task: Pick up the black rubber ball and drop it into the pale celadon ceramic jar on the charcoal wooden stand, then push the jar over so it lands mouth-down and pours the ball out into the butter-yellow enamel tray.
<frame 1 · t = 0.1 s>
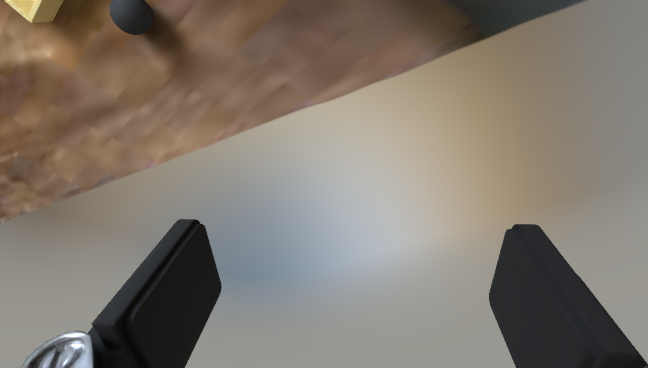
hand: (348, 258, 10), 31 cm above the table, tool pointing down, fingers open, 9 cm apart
ball: (132, 14, 35), point 2 cm above the table
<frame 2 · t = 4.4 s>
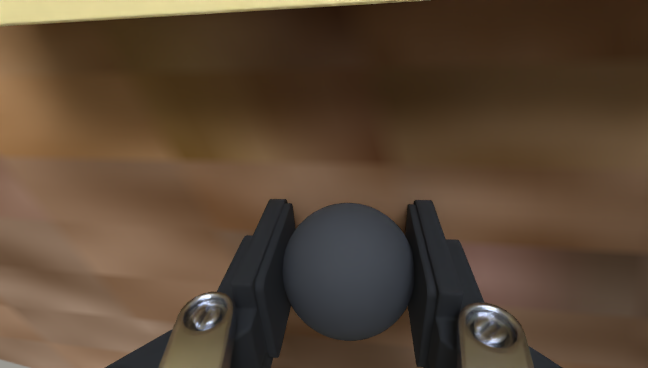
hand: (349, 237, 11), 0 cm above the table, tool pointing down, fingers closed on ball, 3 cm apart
ball: (347, 268, 10), point 2 cm above the table, touching gripper
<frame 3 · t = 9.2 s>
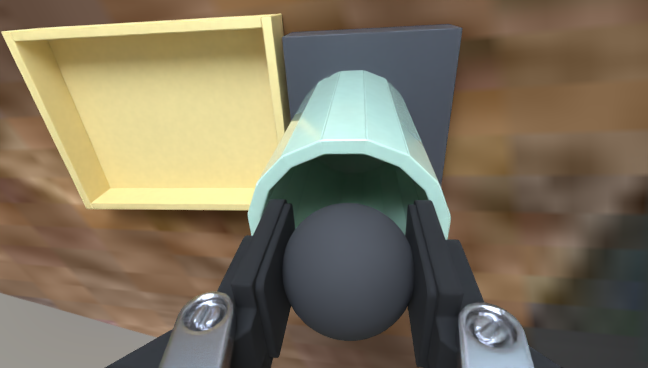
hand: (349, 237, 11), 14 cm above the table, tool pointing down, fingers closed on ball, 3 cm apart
ball: (347, 268, 10), point 16 cm above the table, touching gripper
tray: (181, 117, 25), on the table
jar: (352, 127, 21), point 3 cm above the table, touching stand
stand: (367, 112, 24), on the table
when the fingers open (17 cm above the table, at t = 19.1 s): ball drops 13 cm, resting on jar.
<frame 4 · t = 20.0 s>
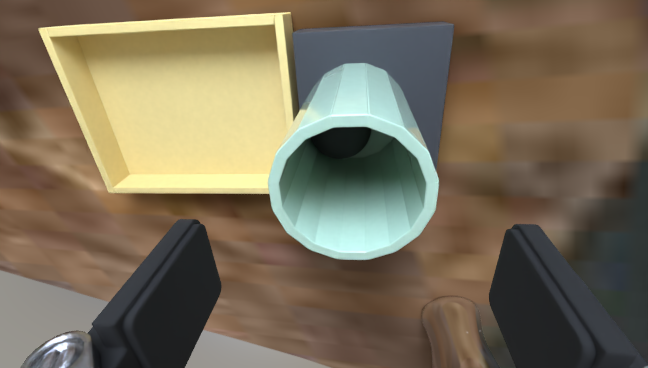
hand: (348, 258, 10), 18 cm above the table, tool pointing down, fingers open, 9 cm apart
ball: (340, 127, 21), point 6 cm above the table, tilted 26°, touching jar
tray: (197, 107, 27), on the table
jar: (355, 115, 23), point 3 cm above the table, touching ball, stand
stand: (369, 103, 26), on the table
beer glass: (449, 313, 36), on the table
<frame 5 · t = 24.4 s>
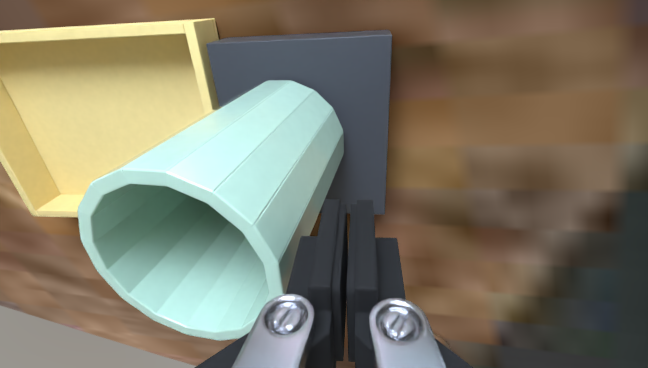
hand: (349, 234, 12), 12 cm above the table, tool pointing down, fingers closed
tray: (124, 123, 24), on the table
jar: (286, 139, 20), point 3 cm above the table, tilted 6°, touching ball, gripper, stand
stand: (311, 121, 23), on the table
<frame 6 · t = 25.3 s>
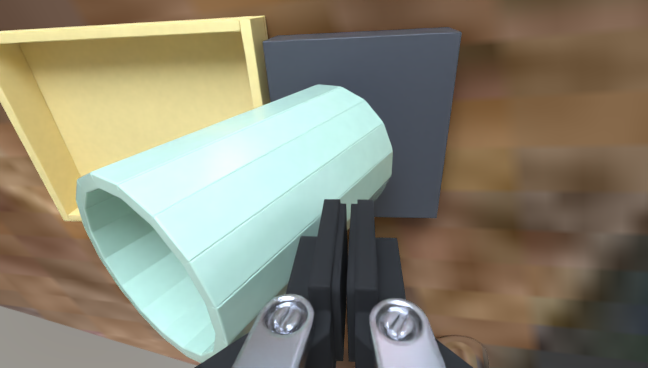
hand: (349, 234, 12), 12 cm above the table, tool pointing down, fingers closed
tray: (162, 125, 24), on the table
jar: (332, 149, 18), point 5 cm above the table, tilted 26°, touching ball, gripper, stand
stand: (359, 122, 22), on the table
beer glass: (453, 353, 32), on the table
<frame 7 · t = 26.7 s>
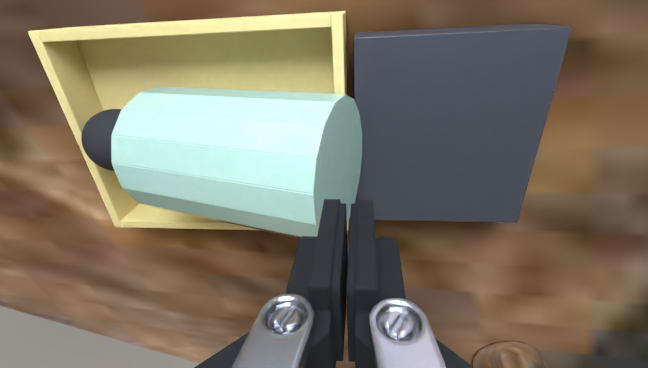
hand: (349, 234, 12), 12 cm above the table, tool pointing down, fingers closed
ball: (119, 140, 21), point 2 cm above the table, tilted 160°, touching tray
tray: (222, 126, 23), on the table
jar: (342, 170, 16), point 7 cm above the table, tilted 105°, touching tray
stand: (434, 122, 21), on the table
beer glass: (505, 358, 32), on the table
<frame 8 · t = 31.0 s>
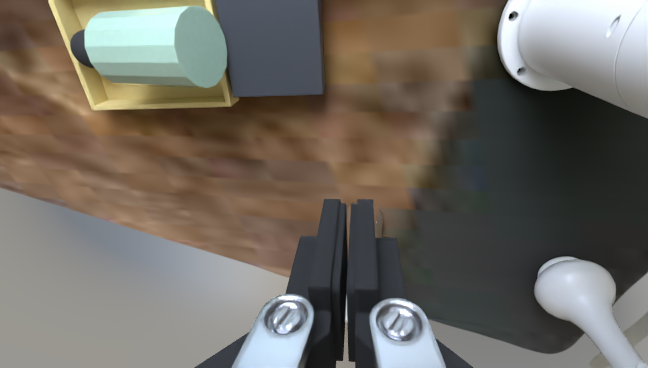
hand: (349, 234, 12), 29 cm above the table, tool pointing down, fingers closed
ball: (93, 49, 36), point 2 cm above the table, tilted 159°, touching tray
tray: (156, 44, 37), on the table
jar: (203, 48, 31), point 7 cm above the table, tilted 105°, touching tray
stand: (277, 38, 36), on the table
beer glass: (361, 217, 47), on the table
flower vase: (565, 270, 47), on the table
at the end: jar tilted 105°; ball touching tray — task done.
